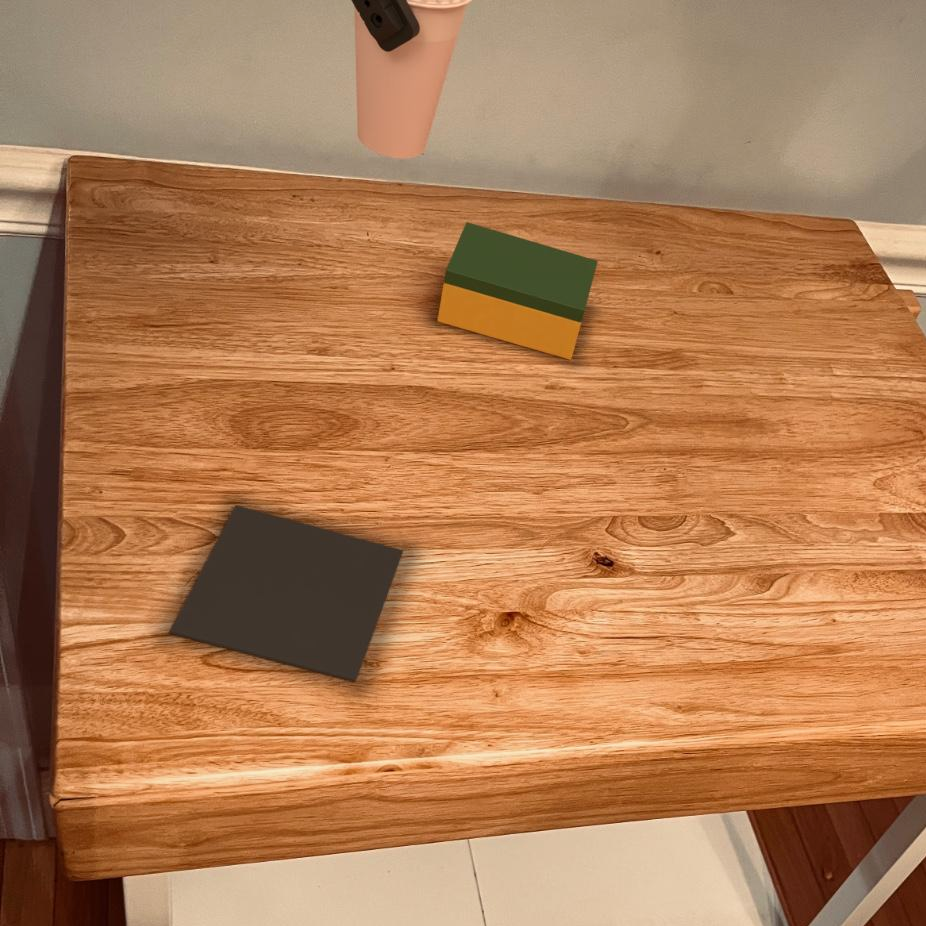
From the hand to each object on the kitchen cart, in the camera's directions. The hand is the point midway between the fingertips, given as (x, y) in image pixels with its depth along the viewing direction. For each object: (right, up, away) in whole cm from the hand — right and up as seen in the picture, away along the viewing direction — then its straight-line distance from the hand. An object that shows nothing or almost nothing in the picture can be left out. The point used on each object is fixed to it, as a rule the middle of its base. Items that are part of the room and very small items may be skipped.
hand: (436, 20), depth 60 cm
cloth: (-7, -29, 0) cm, 30 cm away
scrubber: (+2, -10, +20) cm, 22 cm away
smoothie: (-3, -4, +5) cm, 8 cm away
